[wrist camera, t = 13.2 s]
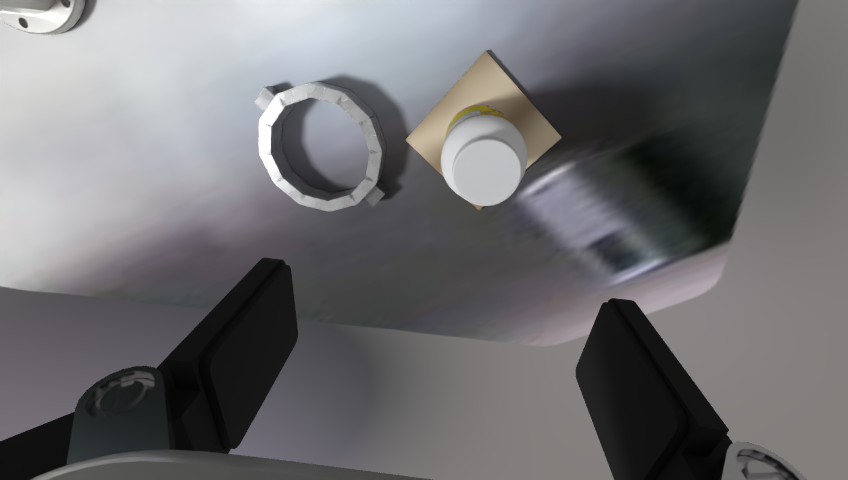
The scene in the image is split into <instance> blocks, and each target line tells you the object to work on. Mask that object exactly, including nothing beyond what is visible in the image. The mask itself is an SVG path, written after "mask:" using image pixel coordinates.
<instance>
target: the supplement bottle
mask: <svg viewBox="0 0 848 480" xmlns="http://www.w3.org/2000/svg"><path fill="white" fill-rule="evenodd" d="M527 159H528V154H527V148H526V144H525V141H524V139H523V137H522V135H521V134H520V132H519V131H518V129H517V128H516V127H515V126H514V125H513V123H512V122H511V121H510V120H509V118H508V117H507V116H506V115H505V114H504V113H503V112H502V111H500V110H499V109H497V108H495V107H493V106H490V105H486V104H476V105H471V106H468V107H466V108H464V109H463V110H461V111H460V112H458V113H457V114H456V115H455V116H454V118H453V119H452V120H451V122H450V124H449V126H448V128H447V131H446V135H445V139H444V145H443V149H442V154H441V168H442V172H443V176H444V178H445V180H446V182H447V184H448V185H449V186H450V188H451V189H452V190H453V191H454V192H455V193H457V194H458V195H460V196H461V197H463V198H464V199H465V200H467V201H468V202H470V203H473V204H475V205H480V206H490V205H495V204H498V203H500V202H502V201H504V200H506V199H507V198H508V197H509V196H511V195H512V194H513V192H514V191H515V190H516V188H517V186H518V184H519V182H520V181H521V179H522V177H523V175H524V173H525V170H526V167H527Z"/></svg>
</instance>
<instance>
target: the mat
mask: <svg viewBox="0 0 848 480" xmlns="http://www.w3.org/2000/svg"><path fill="white" fill-rule="evenodd" d="M476 104H486V105H490V106H493V107H495V108H497V109H499V110H500V111H502V112H503V113H504V114H505V115H506V116H507V117H508V118H509V120H510V121H511V122H512V123H513V125H514V126H515V127H516V128H517V129H518V131H519V132H520V134H521V135H522V137H523V139H524V141H525V144H526V148H527V154H528V159H527V167H526V169H527V168H528V167H529V166H530V165H531V164H532V163H534V162H535V161H536V160H537V159H538V158H539V157H540V156H542V155H543V154H544V153H545V152H546V151H547V150H548V149H550V148H551V147H552V146H553V145H554V144H555V143H556V142H558V141H559V140H560V139H561V138H562V137H561V136H560V135H559V134H558V133H557V131H556V130H555V129H554V128H553V127H552V126H551V125H550V123H549V122H548V121H547V120H546V119H545V118H544V117H543V116H542V114H541V113H540V112H539V111H538V110H537V109H536V108H535V106H534V105H533V104H532V103H531V102H530V101H529V100H528V98H527V97H526V96H525V95H524V94H523V93H522V92H521V91H520V89H519V88H518V87H517V86H516V85H515V84H514V83H513V81H512V80H511V79H510V78H509V77H508V76H507V75H506V73H505V72H504V71H503V70H502V69H501V68H500V67H499V66H498V64H497V63H496V62H495V61H494V60H493V59H492V58H491V56H490V55H489V54H488V53H487V52H486V51H485V52H484V53H483V54H482V55H481V56H480V57H479V59H478V60H477V61H476V62H475V63H474V64H473V65H472V66H471V67H470V69H469V70H468V71H467V72H466V73H465V74H464V75H463V76H462V77H461V79H460V80H459V81H458V82H457V83H456V84H455V85H454V86H453V87H452V89H451V90H450V91H449V92H448V93H447V94H446V95H445V96H444V97H443V99H442V100H441V101H440V102H439V103H438V104H437V105H436V106H435V107H434V109H433V110H432V111H431V112H430V113H429V114H428V115H427V116H426V117H425V119H424V120H423V121H422V122H421V123H420V124H419V125H418V126H417V127H416V129H415V130H414V131H413V132H412V133H411V134H410V135H409V136H408V137H407V139H406V141H407V142H408V143H409V144H410V145H411V146H412V147H413V148H414V149H415V150H416V151H417V152H418V153H419V154H421V155H422V156H423V157H424V158H425V159H426V160H427V161H428V162H429V163H430V164H431V165H432V166H433V167H434V168H435V169H436V170H437V171H438V172H439V173H440V174H441V175H442V176H443V172H442V168H441V154H442V149H443V145H444V139H445V135H446V131H447V128H448V126H449V124H450V122H451V120H452V119H453V118H454V116H455V115H456V114H457V113H458V112H460V111H461V110H463V109H464V108H466V107H468V106H471V105H476ZM443 177H444V176H443ZM472 204H473V203H472ZM473 205H474V206H475V207H476V208H477V209H478V210H480V209H481V208H482V207H484V206H480V205H475V204H473Z"/></svg>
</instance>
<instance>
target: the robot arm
mask: <svg viewBox="0 0 848 480" xmlns="http://www.w3.org/2000/svg"><path fill="white" fill-rule="evenodd" d="M84 6H85V0H0V20H1V21H2V22H4V23H6V24H8V25H10V26H12V27H14V28H16V29H18V30H21V31H25V32H28V33H33V34H43V35H51V34H59V33H62V32H65V31H67V30H68V29H70V28H71V27H73V26H74V25H75V24H76V22H77V21H78V20H79V18H80V17H81V14H82V12H83V9H84ZM297 337H298V329H297V320H296V311H295V302H294V293H293V284H292V275H291V268H290V266H289V265H286V264H285V262H284V261H283V260H280V259H271V258H262V259H261V260H260V261H259V262H258V263H257V264H256V265H255V266H254V267H253V268H252V269H251V270H250V271H249V272H248V273H247V274H246V275H245V276H244V278H243V279H242V280H241V281H240V282H239V283H238V284H237V285H236V286H235V287H234V288H233V289H232V290H231V291H230V292H229V293H228V294H227V295H226V296H225V297H224V298H223V299H222V300H221V301H220V302H219V304H218V305H217V306H216V307H215V308H214V309H213V310H212V311H211V312H210V313H209V314H208V315H207V316H206V317H205V318H204V319H203V320H202V321H201V322H200V323H199V324H198V326H196V327H195V328H194V330H193V331H192V332H191V333H190V334H189V335H188V336H187V337H186V338H185V339H184V340H183V341H182V342H181V343H180V344H179V345H178V346H177V347H176V348H175V349H174V350H173V351H172V352H171V353H170V355H169V356H168V357H167V358H166V359H165V360H164V361H163V362H162V363H161V364H160V365H159V366H158V367H157V368H155V367H150V366H134V367H130V368H125V369H122V370H119V371H117V372H114V373H112V374H109V375H108V376H106V377H104V378H102V379H101V380H99V381H97V382H96V383H95V384H93V385H92V386H91V387H90V388H89V389H87V390H86V392H85V393H84V394H83V395H82V396H81V398H80V399H79V400H78V403H77V405H76V408H75V412H73V413H70V414H68V415H65V416H63V417H60V418H58V419H55V420H53V421H51V422H48V423H45V424H43V425H41V426H38V427H35V428H33V429H30V430H28V431H25V432H23V433H20V434H18V435H15V436H13V437H10V438H8V439H5V440H3V441H0V480H431V479H423V478H415V477H408V476H400V475H393V474H386V473H378V472H371V471H363V470H355V469H346V468H339V467H331V466H324V465H316V464H308V463H300V462H293V461H285V460H277V459H269V458H259V457H250V456H241V455H232V454H228V453H229V451H230V450H231V449H235V448H237V447H238V446H239V444H240V443H241V441H242V439H243V437H244V436H245V434H246V432H247V430H248V428H249V426H250V425H251V423H252V421H253V420H254V418H255V416H256V414H257V412H258V411H259V409H260V407H261V405H262V403H263V402H264V400H265V398H266V396H267V394H268V393H269V391H270V389H271V387H272V385H273V384H274V382H275V380H276V378H277V376H278V375H279V373H280V371H281V369H282V367H283V366H284V364H285V362H286V360H287V359H288V357H289V355H290V353H291V351H292V350H293V347H294V346H295V344H296V341H297ZM576 379H577V382H578V384H579V387H580V390H581V392H582V395H583V398H584V400H585V403H586V406H587V408H588V411H589V414H590V416H591V419H592V422H593V424H594V427H595V430H596V432H597V435H598V438H599V440H600V443H601V445H602V448H603V451H604V453H605V456H606V459H607V461H608V464H609V467H610V469H611V472H612V475H613V477H614V480H806V479H805V477H804V476H803V475H802V474H801V473H800V472H799V471H797V470H796V469H795V468H794V467H793V466H792V465H791V464H789V463H788V462H787V461H785V460H784V459H783V458H781V457H779V456H778V455H776V454H775V453H773V452H771V451H769V450H767V449H765V448H763V447H761V446H759V445H755V444H752V443H749V442H736V443H732V441H731V440H730V439H729V437H728V436H727V432H728V431H729V429H728V428H727V427H726V425H725V424H724V422H723V421H722V420H721V419H720V417H719V416H718V414H717V413H716V412H715V410H714V409H713V407H712V406H711V405H710V403H709V402H708V401H707V399H706V398H705V397H704V395H703V394H702V392H701V391H700V390H699V388H698V387H697V386H696V384H695V383H694V382H693V380H692V379H691V377H690V376H689V375H688V373H687V372H686V371H685V370H684V368H683V367H682V365H681V364H680V362H679V361H678V360H677V358H676V357H675V356H674V354H673V353H672V352H671V350H670V349H669V347H668V346H667V345H666V343H665V342H664V341H663V339H662V338H661V337H660V335H659V334H658V332H657V331H656V330H655V328H654V327H653V326H652V324H651V323H650V322H649V320H648V319H647V318H646V316H645V315H644V313H643V312H642V311H641V309H640V308H639V307H638V305H637V304H636V303H635V302H634V301H632V300H624V299H615V298H612V299H610V300H609V301H608V303H607V302H605V303H603V304H602V306H601V308H600V310H599V313H598V315H597V317H596V320H595V322H594V325H593V327H592V330H591V332H590V335H589V337H588V340H587V342H586V345H585V347H584V349H583V352H582V354H581V357H580V359H579V362H578V364H577V367H576Z"/></svg>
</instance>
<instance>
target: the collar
mask: <svg viewBox="0 0 848 480" xmlns="http://www.w3.org/2000/svg"><path fill="white" fill-rule="evenodd" d="M309 98H314V99H318V100H322V101H326V102H330V103H334V104H338V105H339V106H340V107H341V108H342V109H343V110H344V111H345V112H346V113H347V114H349V115H350V116H351V117H352V118H353V119H354V120H355V121H356V122H357V123H358V124H359V125H360V127H361V129H362V132H363V135H364V138H365V140H366V143H367V146H368V148H369V151H370V154H369V161H368V167H367V173H366V177H365V178H364V179H363V181H362V182H361V183H360V184H359V185H358V186H357V187H356V188H352V189H348V190H345V191H341V192H337V193H333V192H329V191H325V190H321V189H317V188H313V187H311V186H310V185H309V184H307V183H306V182H305V181H304V180H303V179H301V178H300V177H299V176H298V175H297V174H295V173H294V172H293V171H292V169H291V167H290V164H289V162H288V160H287V158H286V156H285V154H284V152H283V150H282V123H283V121H284V120H285V118H286V117H287V116H288V114H289V113H290V111H291V110H292V108H293V107H294V105H295V104H296V103H298V102H301V101H304V100H306V99H309ZM255 104H256V105H257V106H258V107H259V108H261V109H262V110H263V111H264V114H263V115H262V117H261V118H260V121H259V153H260V156H261V158H262V160H263V162H264V164H265V166H266V168H267V170H268V172H269V174H270V176H271V178H272V180H273V182H274V183H275V185H277V186H278V187H279V188H280V189H281V190H283V191H284V192H285V193H286V194H288V195H289V196H290V197H291V198H293V199H294V200H295V201H296V202H298V203H299V204H301V205H305V206H309V207H313V208H317V209H321V210H325V211H334V210H338V209H342V208H346V207H349V206H353V205H357V204H358V203H359V202H360V201H361V200H362V199H363V198H364V199H366V200H367V201H368V202H369V203H370V204H371V205H372V206H375V205H376V203H377V202H378V201H379V200H380V199H381V198H382V197H383V196H384V195H385V194H386V192H387V190H388V189H387V188H386V187H385V186H384V185H383V184H381V183H380V182H379V181H378V180H379V179H380V177H381V176H382V171H383V165H384V160H385V154H386V148H387V147H386V146H387V145H386V142H385V139H384V137H383V134H382V131H381V128H380V125H379V122H378V119H377V116H376V115H375V113H374V112H373V111H372V110H371V109H370V108H369V107H368V106H367V105H366V104H364V103H363V102H362V101H361V100H360V99H359V98H358V97H357V96H356V95H355V94H354V93H353V92H352V91H351V90H349V89H345V88H341V87H337V86H333V85H329V84H326V83H322V82H311V83H306V84H303V85H300V86H298V87H295V88H292V89H289V90H286V91H283V92H281V93H280V92H279V91H278V90H276V89H275V88H274V87H273V86H267V87H264V88H263V90H262V91H261V93H260V95H259V96H258V98H257V99H256V101H255ZM374 115H375V116H374Z"/></svg>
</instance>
